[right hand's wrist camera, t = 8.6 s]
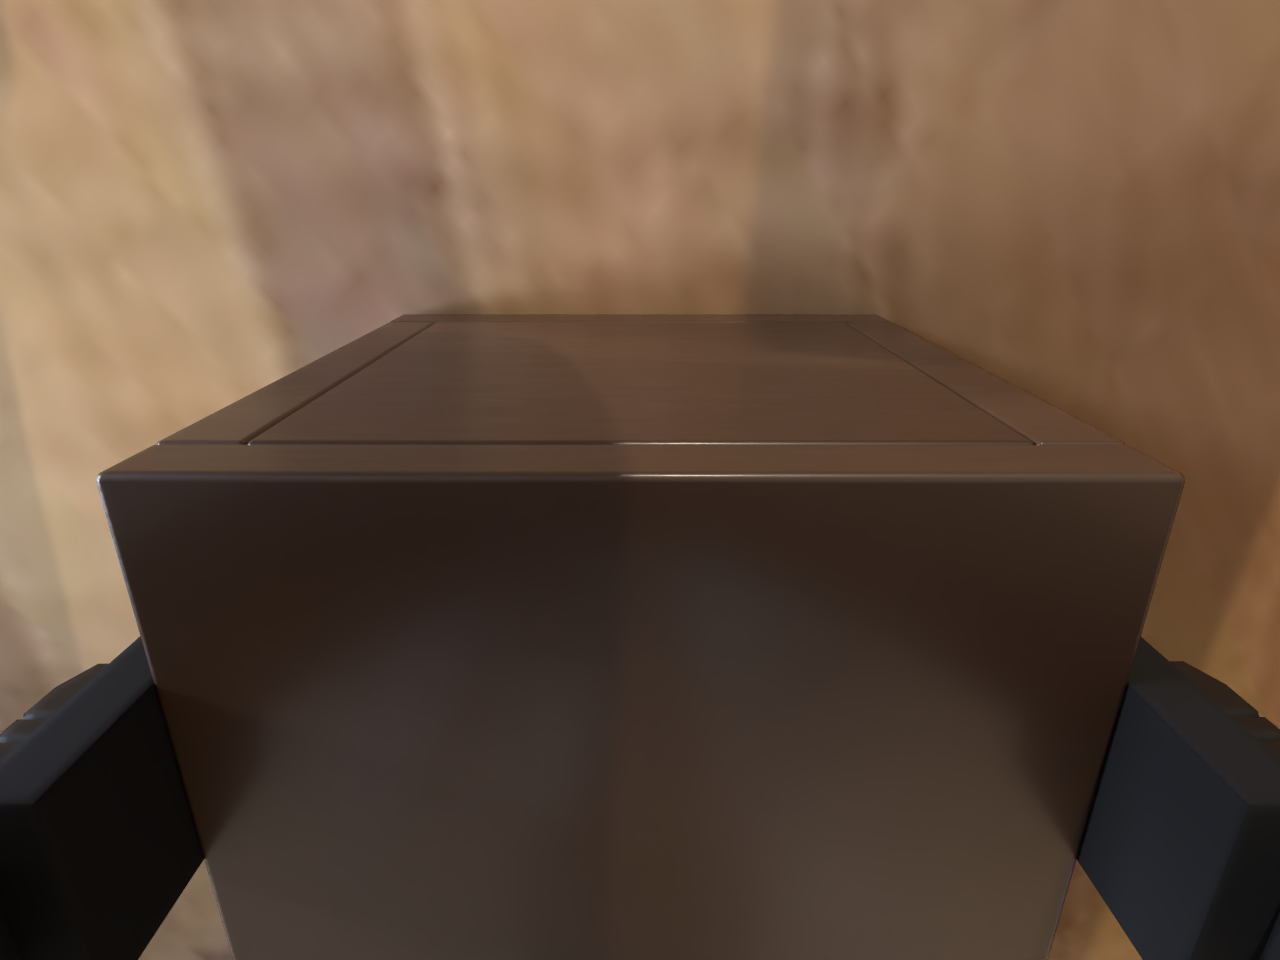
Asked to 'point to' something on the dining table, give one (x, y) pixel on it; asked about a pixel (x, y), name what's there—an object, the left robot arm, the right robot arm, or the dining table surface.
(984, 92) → the dining table surface
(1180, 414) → the dining table surface
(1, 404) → the dining table surface
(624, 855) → the cabinet
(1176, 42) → the dining table surface
